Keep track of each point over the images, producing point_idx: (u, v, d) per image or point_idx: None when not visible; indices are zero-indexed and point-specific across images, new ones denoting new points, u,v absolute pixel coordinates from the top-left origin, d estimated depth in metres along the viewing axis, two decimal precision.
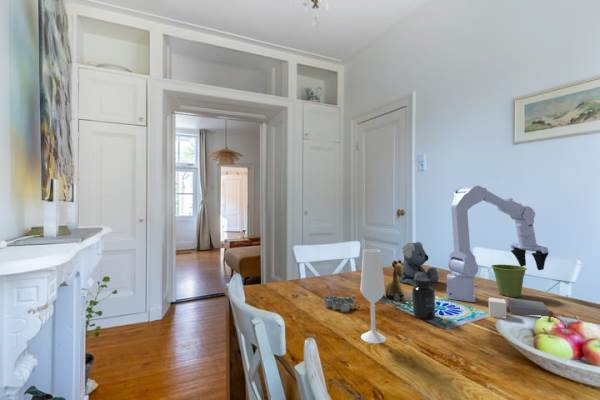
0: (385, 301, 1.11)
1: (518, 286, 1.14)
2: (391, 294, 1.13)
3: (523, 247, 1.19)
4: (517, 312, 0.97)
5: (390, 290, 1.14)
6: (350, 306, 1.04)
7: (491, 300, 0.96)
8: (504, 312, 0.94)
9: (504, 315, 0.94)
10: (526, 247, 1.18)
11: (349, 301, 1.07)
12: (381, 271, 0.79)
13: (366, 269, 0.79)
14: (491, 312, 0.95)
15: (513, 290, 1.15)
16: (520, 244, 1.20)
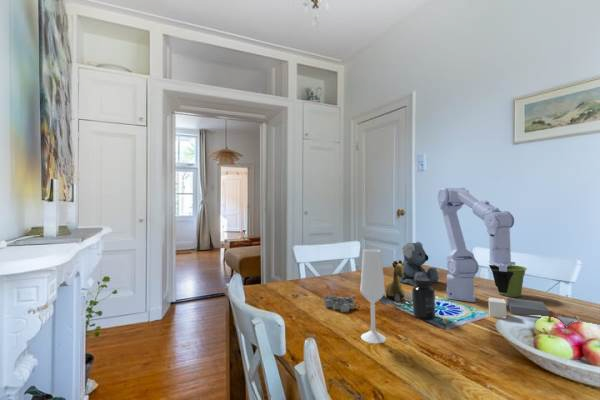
0: (385, 301, 1.11)
1: (518, 286, 1.14)
2: (391, 294, 1.13)
3: (490, 261, 0.97)
4: (517, 312, 0.97)
5: (390, 290, 1.13)
6: (350, 306, 1.04)
7: (491, 300, 0.96)
8: (504, 312, 0.94)
9: (504, 315, 0.94)
10: (491, 261, 0.96)
11: (349, 301, 1.07)
12: (381, 271, 0.79)
13: (366, 269, 0.79)
14: (491, 312, 0.95)
15: (513, 290, 1.15)
16: None
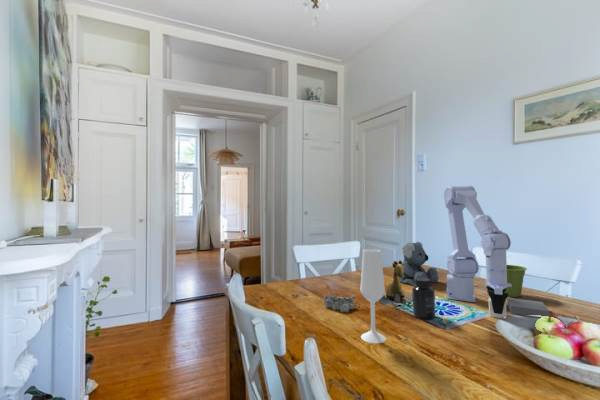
0: (385, 302, 1.10)
1: (518, 286, 1.14)
2: (391, 295, 1.12)
3: (486, 282, 0.98)
4: (517, 312, 0.97)
5: (390, 291, 1.13)
6: (350, 306, 1.04)
7: None
8: (504, 312, 0.94)
9: (504, 315, 0.94)
10: (487, 283, 0.97)
11: (349, 301, 1.07)
12: (381, 271, 0.79)
13: (366, 269, 0.79)
14: (491, 312, 0.95)
15: (513, 290, 1.15)
16: None
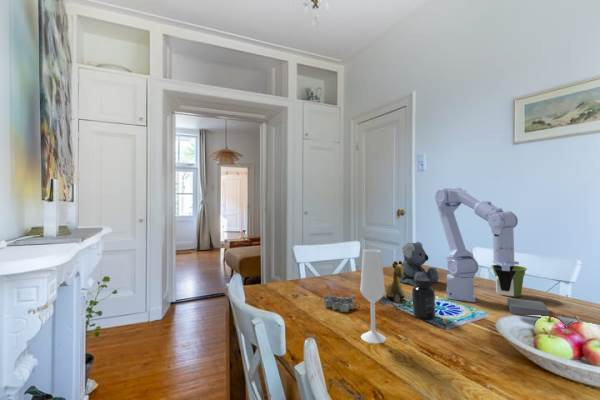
0: (385, 302, 1.10)
1: (518, 286, 1.14)
2: (391, 295, 1.12)
3: (493, 260, 0.99)
4: (517, 312, 0.97)
5: (390, 291, 1.12)
6: (350, 306, 1.04)
7: (498, 278, 0.97)
8: (511, 289, 0.95)
9: (511, 292, 0.95)
10: (495, 261, 0.98)
11: (349, 301, 1.06)
12: (381, 271, 0.79)
13: (366, 269, 0.79)
14: (498, 289, 0.96)
15: None
16: None
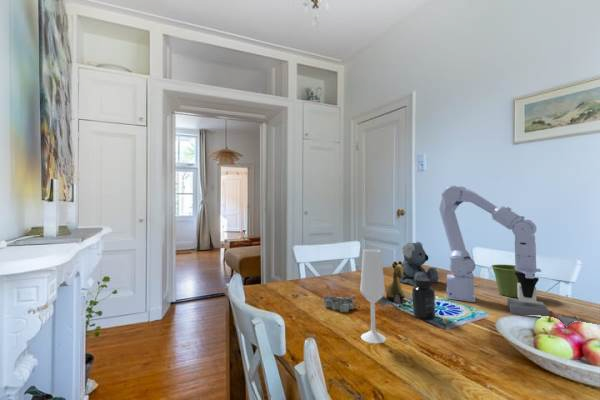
0: (385, 303, 1.09)
1: None
2: (391, 296, 1.11)
3: (515, 268, 1.01)
4: (517, 312, 0.97)
5: (390, 291, 1.12)
6: (350, 306, 1.04)
7: None
8: (534, 296, 0.97)
9: (534, 299, 0.97)
10: (517, 268, 1.00)
11: (349, 301, 1.06)
12: (381, 271, 0.79)
13: (366, 269, 0.79)
14: (521, 296, 0.99)
15: (513, 290, 1.15)
16: None
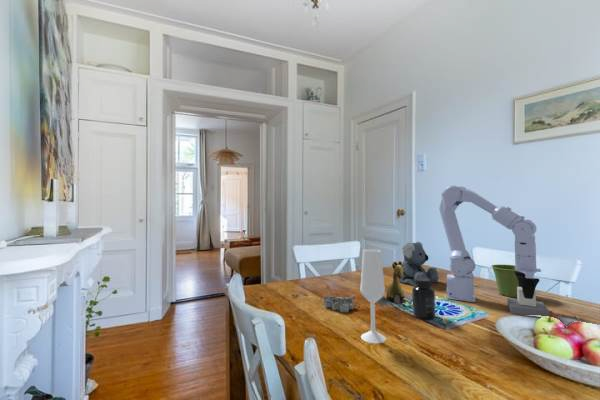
0: (384, 303, 1.09)
1: (518, 286, 1.14)
2: (391, 296, 1.11)
3: (515, 268, 1.01)
4: (517, 312, 0.97)
5: (390, 292, 1.11)
6: (349, 306, 1.04)
7: (520, 289, 1.00)
8: (534, 300, 0.97)
9: (534, 303, 0.97)
10: (517, 268, 1.00)
11: (348, 301, 1.06)
12: (381, 271, 0.79)
13: (366, 269, 0.79)
14: (521, 300, 0.99)
15: (513, 290, 1.15)
16: None
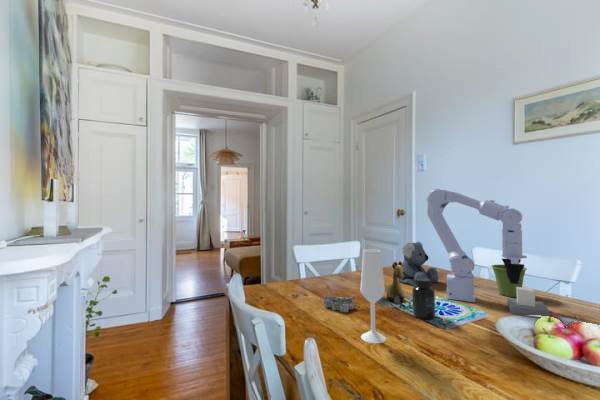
0: (384, 303, 1.09)
1: (518, 286, 1.14)
2: (391, 296, 1.10)
3: (502, 254, 1.05)
4: (517, 312, 0.97)
5: (390, 292, 1.11)
6: (349, 306, 1.04)
7: (519, 289, 1.00)
8: (533, 300, 0.97)
9: (533, 303, 0.97)
10: (504, 255, 1.04)
11: (348, 301, 1.06)
12: (381, 271, 0.79)
13: (366, 269, 0.79)
14: (520, 300, 0.99)
15: (513, 290, 1.15)
16: None
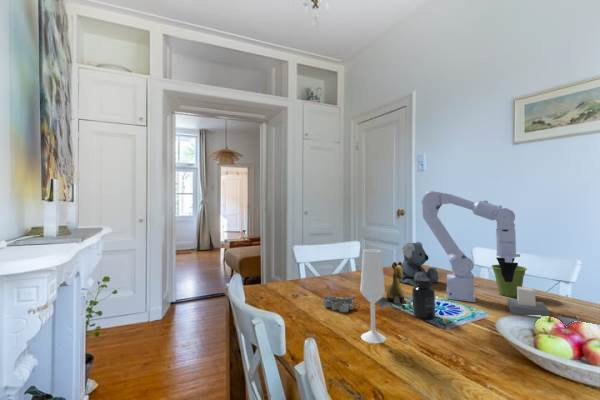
0: (384, 304, 1.08)
1: (518, 286, 1.14)
2: (391, 297, 1.10)
3: (496, 253, 1.07)
4: (517, 312, 0.97)
5: (390, 292, 1.11)
6: (349, 306, 1.04)
7: (520, 289, 1.00)
8: (533, 300, 0.97)
9: (533, 303, 0.97)
10: (498, 254, 1.06)
11: (348, 301, 1.06)
12: (381, 271, 0.79)
13: (366, 269, 0.79)
14: (520, 300, 0.99)
15: (513, 290, 1.15)
16: None
